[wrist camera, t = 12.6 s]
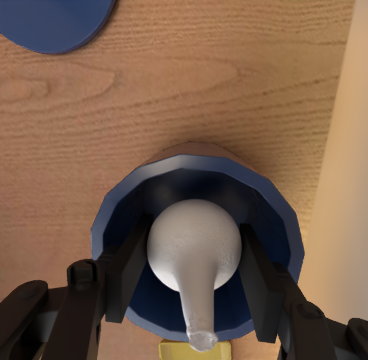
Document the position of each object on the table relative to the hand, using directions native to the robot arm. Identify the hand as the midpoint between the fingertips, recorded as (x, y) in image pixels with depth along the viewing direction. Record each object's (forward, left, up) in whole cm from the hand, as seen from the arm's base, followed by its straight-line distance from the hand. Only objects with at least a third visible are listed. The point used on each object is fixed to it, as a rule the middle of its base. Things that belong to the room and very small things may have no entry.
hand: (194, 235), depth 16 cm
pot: (0, 0, -8) cm, 8 cm away
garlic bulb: (0, 0, 0) cm, 0 cm away
